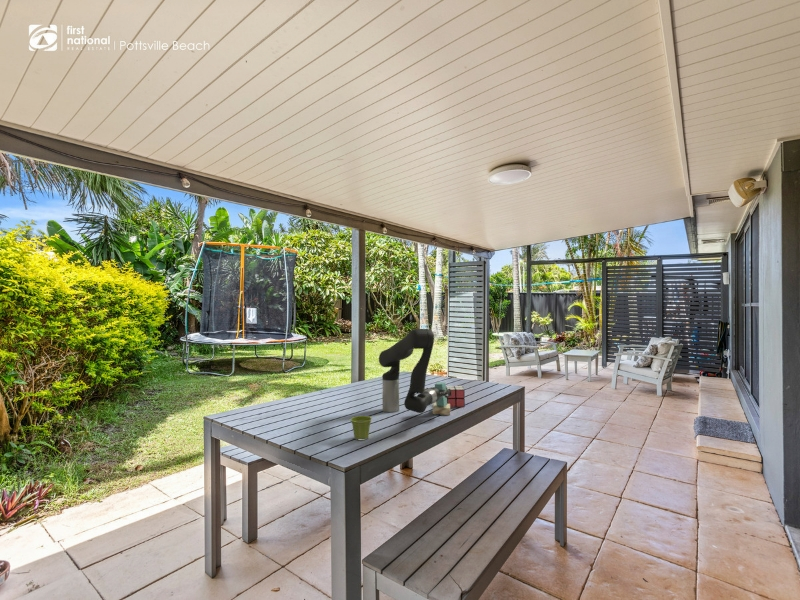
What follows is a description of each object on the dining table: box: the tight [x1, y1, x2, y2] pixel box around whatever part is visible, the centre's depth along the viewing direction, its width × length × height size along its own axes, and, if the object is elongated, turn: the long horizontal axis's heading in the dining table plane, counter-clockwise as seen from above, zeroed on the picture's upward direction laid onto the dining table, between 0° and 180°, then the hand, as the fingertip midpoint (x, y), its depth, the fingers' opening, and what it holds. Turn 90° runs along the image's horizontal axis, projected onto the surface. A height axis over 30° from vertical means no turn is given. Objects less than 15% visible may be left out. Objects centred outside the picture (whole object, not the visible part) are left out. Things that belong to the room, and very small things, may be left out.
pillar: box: [434, 381, 447, 407], centre depth 216 cm, size 4×4×12 cm
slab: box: [432, 402, 451, 416], centre depth 216 cm, size 9×9×4 cm
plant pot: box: [350, 415, 373, 440], centre depth 177 cm, size 9×9×9 cm
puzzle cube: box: [446, 385, 466, 408], centre depth 231 cm, size 10×10×10 cm
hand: (442, 389), depth 217 cm, fingers open, 8 cm apart
